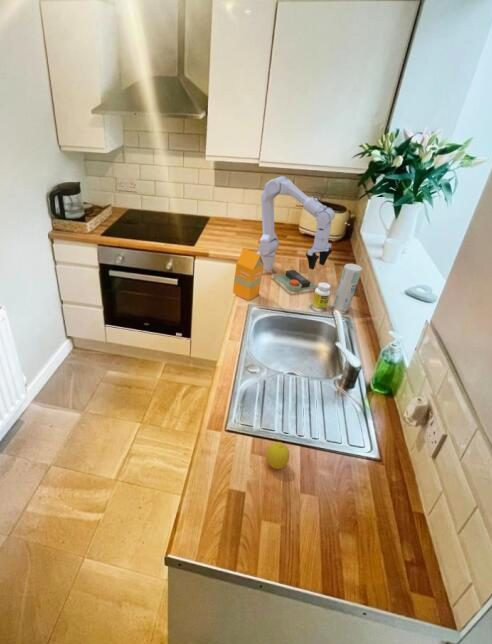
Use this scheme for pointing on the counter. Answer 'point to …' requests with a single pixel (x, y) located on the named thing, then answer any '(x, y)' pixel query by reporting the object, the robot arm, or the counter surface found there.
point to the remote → (297, 278)
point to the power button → (294, 282)
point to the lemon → (277, 455)
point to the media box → (286, 283)
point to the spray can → (347, 287)
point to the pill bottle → (321, 296)
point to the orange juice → (248, 275)
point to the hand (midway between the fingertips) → (316, 266)
